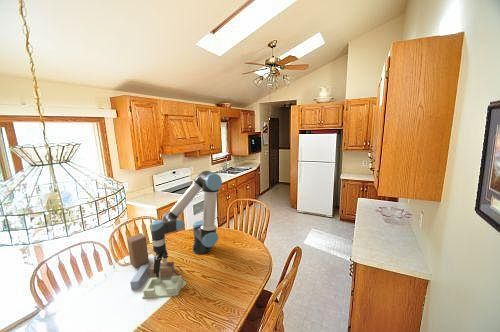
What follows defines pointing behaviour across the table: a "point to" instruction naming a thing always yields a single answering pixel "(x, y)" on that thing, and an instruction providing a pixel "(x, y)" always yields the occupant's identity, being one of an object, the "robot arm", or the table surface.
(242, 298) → the table surface
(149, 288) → the jig
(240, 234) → the table surface
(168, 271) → the brown rectangular block
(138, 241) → the wooden block
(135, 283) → the blue-grey rectangular prism
